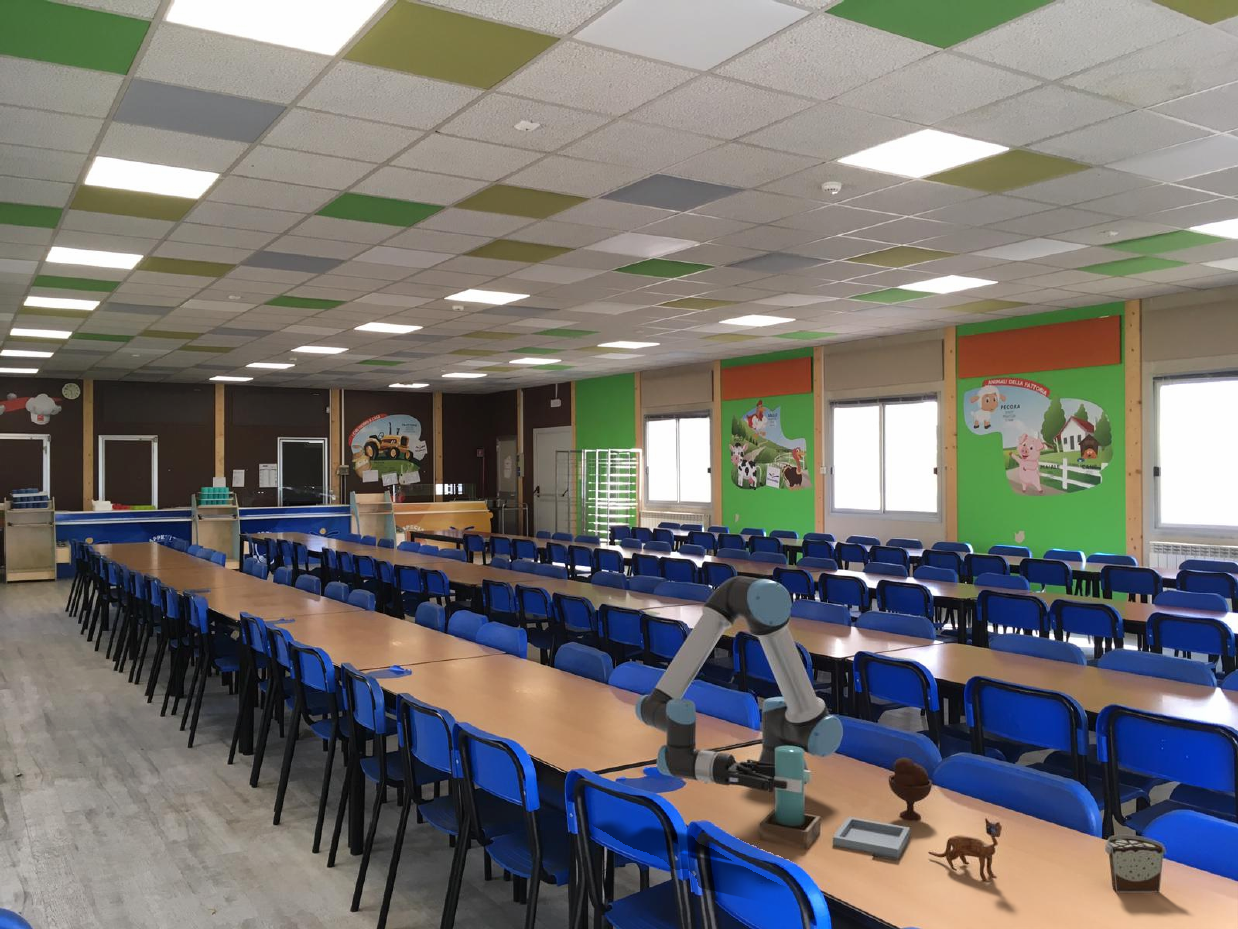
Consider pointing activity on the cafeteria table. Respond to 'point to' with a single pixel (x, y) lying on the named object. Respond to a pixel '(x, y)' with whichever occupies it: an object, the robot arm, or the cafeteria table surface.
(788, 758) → the teal jar
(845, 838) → the tray
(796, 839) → the open wooden box
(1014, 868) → the cafeteria table surface
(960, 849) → the cat figurine
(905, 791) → the ice cream bowl
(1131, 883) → the food container
